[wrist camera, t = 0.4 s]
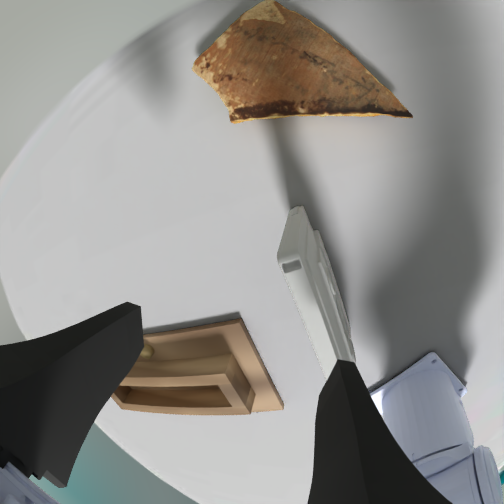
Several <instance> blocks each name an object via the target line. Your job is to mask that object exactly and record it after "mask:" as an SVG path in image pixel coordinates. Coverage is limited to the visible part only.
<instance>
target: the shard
mask: <svg viewBox="0 0 504 504" xmlns="http://www.w3.org/2000/svg"><path fill="white" fill-rule="evenodd" d="M192 70H193V71H194V72H195V73H196V74H197V75H198V76H199V77H201V78H202V79H204V81H205V82H207V83H208V84H209V85H210V86H211V87H212V88H213V89H214V90H215V91H216V92H217V93H218V94H219V96H220V98H221V99H222V101H223V102H224V104H225V106H226V107H227V108H228V110H229V117H230V122H232V123H234V124H235V123H240V122H244V121H252V120H254V119H269V118H273V119H276V118H284V117H289V116H321V117H324V116H327V115H328V116H361V117H363V116H378V115H388V116H392V117H400V118H413V115H412V114H411V113H409V111H408V110H407V109H406V108H405V107H404V106H403V105H402V104H401V103H400V101H399V100H398V99H397V98H396V97H395V96H394V94H393V93H392V92H391V91H389V89H387V88H386V87H385V86H384V85H383V84H381V83H380V82H379V81H378V80H377V79H376V78H375V77H374V76H373V75H372V74H371V73H370V72H369V71H368V70H367V69H366V68H365V67H364V66H363V65H362V64H361V63H360V62H359V61H358V60H357V58H356V57H355V56H354V55H353V54H352V53H351V52H350V51H349V50H347V49H346V48H345V47H344V46H342V45H341V44H340V43H339V42H337V41H336V40H335V39H334V38H333V37H332V36H331V35H330V34H328V33H327V32H326V31H324V30H323V29H322V28H320V27H318V26H316V25H315V24H313V23H312V22H311V20H309V19H307V18H305V17H303V16H302V15H300V14H299V13H297V12H295V11H290V10H288V9H286V8H285V7H283V6H282V5H281V4H279V3H278V2H276V1H274V0H264V1H262V2H260V3H259V4H257V5H256V6H254V7H253V8H251V9H250V10H248V11H246V12H245V13H243V14H242V15H241V16H240V17H239V18H238V19H237V20H236V21H235V22H234V23H232V24H231V25H230V26H229V28H228V29H227V30H226V31H225V32H224V33H222V35H221V36H220V37H218V38H217V40H216V41H215V42H214V43H213V44H212V45H211V46H210V47H209V48H208V49H207V50H206V51H204V52H203V53H202V54H201V55H200V56H199V57H198V58H197V59H196V60H195V62H194V64H193V67H192Z"/></svg>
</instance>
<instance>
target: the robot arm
mask: <svg viewBox="0 0 504 504" xmlns="http://www.w3.org/2000/svg"><path fill="white" fill-rule="evenodd" d="M143 348H144V339H143V329H142V317H141V306H138V305H135V304H132V303H130V302H125V303H123V304H120V305H118V306H116V307H114V308H111V309H109V310H107V311H105V312H102V313H100V314H98V315H96V316H94V317H91V318H89V319H87V320H85V321H82V322H80V323H78V324H75V325H73V326H70V327H68V328H65V329H63V330H60V331H58V332H55V333H52V334H49V335H46V336H43V337H39V338H36V339H32V340H28V341H23V342H18V343H13V344H8V345H1V346H0V504H34V503H35V504H60V503H59V502H57V501H56V500H55V499H53V498H52V497H51V496H49V495H48V494H47V493H45V492H44V491H43V490H42V489H40V488H39V487H38V486H37V485H35V484H34V483H33V482H32V481H31V480H30V479H29V477H30V476H31V474H32V475H34V476H35V477H36V478H37V479H38V480H40V479H41V478H42V476H44V477H45V478H46V479H47V480H49V481H50V482H52V483H53V484H54V485H55V486H57V487H59V488H64V487H66V486H67V483H68V480H69V477H70V474H71V471H72V468H73V465H74V463H75V460H76V458H77V455H78V453H79V451H80V448H81V446H82V444H83V442H84V440H85V438H86V436H87V434H88V432H89V430H90V428H91V426H92V424H93V423H94V421H95V419H96V417H97V415H98V414H99V412H100V411H101V409H102V408H103V406H104V405H105V403H106V402H107V401H108V399H109V398H110V397H111V395H112V394H113V393H114V391H115V390H116V389H117V387H118V386H119V385H120V384H121V382H122V381H123V380H124V378H125V377H126V376H127V374H128V373H129V372H130V370H131V369H132V367H133V366H134V364H135V362H136V361H137V359H138V357H139V355H140V353H141V352H142V350H143ZM434 359H435V360H434ZM466 393H467V388H466V387H465V386H464V385H463V384H462V382H461V381H460V380H459V379H458V378H457V377H456V375H455V374H454V373H453V372H452V371H451V370H450V369H449V368H448V366H447V365H446V364H445V363H444V362H443V361H442V360H441V359H440V358H439V356H438V355H437V354H436V353H435V352H430V353H429V354H427V355H426V356H425V357H423V358H422V359H421V360H419V361H418V362H417V363H415V364H414V365H412V366H411V367H410V368H408V369H407V370H405V371H404V372H403V373H401V374H400V375H398V376H397V377H395V378H394V379H392V380H391V381H389V382H388V383H386V384H385V385H383V386H381V387H380V388H378V389H377V390H375V391H373V392H372V393H370V394H369V391H368V389H367V387H366V385H365V383H364V381H363V379H362V377H361V375H360V373H359V371H358V369H357V367H356V365H355V363H354V362H351V361H346V360H340V359H337V361H336V364H335V366H334V368H333V370H332V372H331V374H330V376H329V377H328V379H327V381H326V383H325V385H324V387H323V389H322V391H321V393H320V395H319V400H318V406H317V413H316V420H315V447H314V467H313V478H312V484H311V489H310V494H309V499H308V504H503V494H502V487H501V481H500V477H499V473H498V469H497V466H496V462H495V459H494V457H493V454H492V452H491V450H490V448H488V447H483V446H482V445H480V446H479V447H477V448H476V449H475V448H474V447H473V445H474V437H473V433H472V430H471V427H470V424H469V421H468V418H467V415H466V412H465V409H464V406H463V403H462V401H461V397H462V396H463V395H465V394H466ZM380 414H382V415H383V418H384V420H383V418H382V417H381V415H380Z"/></svg>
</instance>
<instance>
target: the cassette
mask: <svg viewBox="0 0 504 504" xmlns="http://www.w3.org/2000/svg"><path fill="white" fill-rule="evenodd" d="M277 260H278V264H279V266H280V268H281V270H282V272H283V275H284V277H285V280H286V282H287V284H288V287H289V289H290V292H291V294H292V297H293V299H294V301H295V304H296V306H297V309H298V311H299V314H300V316H301V319H302V321H303V324H304V326H305V329H306V331H307V334H308V336H309V338H310V341H311V344H312V346H313V349H314V351H315V354H316V356H317V359H318V361H319V364H320V366H321V369H322V371H323V374H324V376H325V379H326V381H327V379H328V377H329V376H330V374H331V372H332V370H333V368H334V366H335V364H336V361H337V359H340V360H346V361H351V362H354V363H355V362H356V358H355V352H354V347H353V343H352V340H351V339H350V338H351V335H350V325H349V322H348V318H347V315H346V312H345V308H344V305H343V302H342V299H341V295H340V292H339V289H338V286H337V283H336V280H335V276H334V273H333V270H332V267H331V264H330V261H329V258H328V256H327V253H326V250H325V247H324V244H323V241H322V238H321V235H320V233H319V230H313V229H312V227H311V224H310V222H309V219H308V217H307V214H306V211H305V209H304V206H296V207H294V208H293V209H291V210H290V211H289V215H288V218H287V222H286V225H285V229H284V232H283V236H282V239H281V242H280V246H279V249H278V252H277ZM355 365H356V363H355Z"/></svg>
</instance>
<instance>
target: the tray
mask: <svg viewBox="0 0 504 504" xmlns="http://www.w3.org/2000/svg"><path fill="white" fill-rule="evenodd" d="M143 339H144V348H143V350H142V352H141V353H140V355H139V357H138V359H137V361H136V362H135V364H134V366H133V367H132V369H131V370H130V372H129V373H128V374H127V376H126V377H125V378H124V380H123V381H122V382H121V384H120V385H119V386H118V387H117V389H116V390H115V391H114V393H113V394H112V395H111V397H112V398H113V400H114V401H115V402H116V403H117V404H118V405H119V407H120V408H121V409H125V410H133V411H141V412H152V413H164V414H181V415H246V414H251V412H263V411H275V410H283V409H284V404H283V402H282V400H281V398H280V396H279V394H278V392H277V390H276V388H275V386H274V384H273V382H272V380H271V378H270V376H269V374H268V372H267V370H266V368H265V366H264V364H263V362H262V360H261V358H260V356H259V354H258V352H257V350H256V348H255V346H254V344H253V342H252V339H251V337H250V335H249V333H248V331H247V329H246V327H245V325H244V323H243V321H242V318H240V319H235V320H230V321H224V322H219V323H213V324H208V325H202V326H196V327H191V328H184V329H178V330H172V331H165V332H159V333H152V334H145V335H143Z"/></svg>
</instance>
